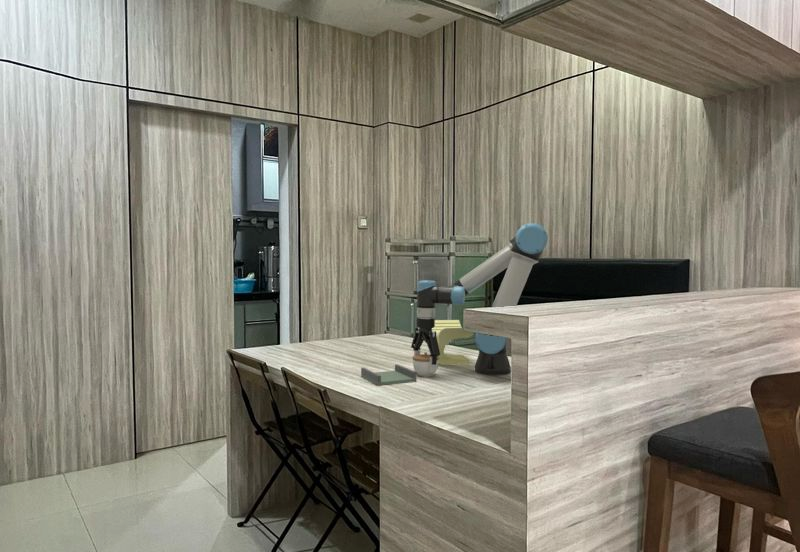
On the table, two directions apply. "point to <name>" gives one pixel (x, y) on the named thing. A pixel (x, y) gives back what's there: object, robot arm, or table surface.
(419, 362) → the lidded jar
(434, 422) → the table surface
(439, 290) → the robot arm
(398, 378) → the tray
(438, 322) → the slatted curved stool
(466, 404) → the table surface
